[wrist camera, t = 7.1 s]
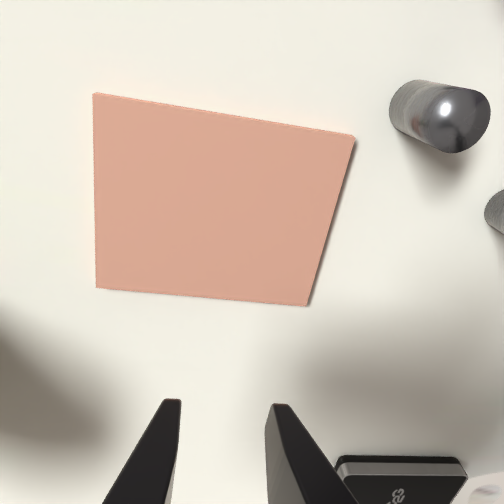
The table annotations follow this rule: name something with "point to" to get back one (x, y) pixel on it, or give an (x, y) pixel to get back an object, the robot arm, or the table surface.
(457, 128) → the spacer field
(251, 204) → the mat
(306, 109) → the table surface
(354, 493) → the external hard drive
